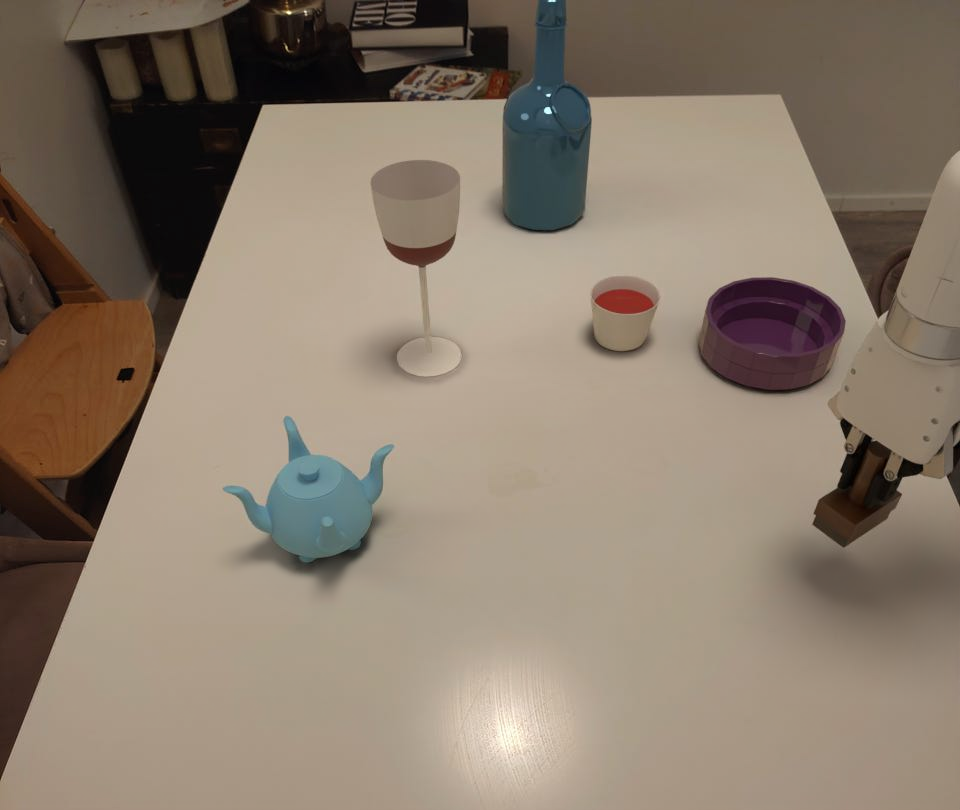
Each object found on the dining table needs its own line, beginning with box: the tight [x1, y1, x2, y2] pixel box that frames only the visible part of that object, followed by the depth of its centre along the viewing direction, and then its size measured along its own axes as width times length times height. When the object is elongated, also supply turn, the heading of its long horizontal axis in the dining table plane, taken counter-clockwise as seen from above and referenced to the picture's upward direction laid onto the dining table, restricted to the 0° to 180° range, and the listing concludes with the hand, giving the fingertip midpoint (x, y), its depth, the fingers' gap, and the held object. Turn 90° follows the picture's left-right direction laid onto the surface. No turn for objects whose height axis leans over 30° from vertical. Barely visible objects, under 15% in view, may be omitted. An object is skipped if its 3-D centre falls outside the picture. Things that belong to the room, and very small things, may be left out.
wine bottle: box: [501, 0, 593, 231], centre depth 123 cm, size 14×13×30 cm
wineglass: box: [370, 159, 462, 378], centre depth 104 cm, size 9×10×23 cm
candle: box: [589, 274, 661, 352], centre depth 113 cm, size 9×9×6 cm
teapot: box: [222, 415, 395, 563], centre depth 91 cm, size 13×13×10 cm
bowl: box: [698, 276, 847, 391], centre depth 111 cm, size 17×17×6 cm
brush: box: [812, 440, 903, 549], centre depth 81 cm, size 7×4×10 cm, turn 126°
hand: (863, 490), depth 81 cm, fingers closed on brush, 2 cm apart
